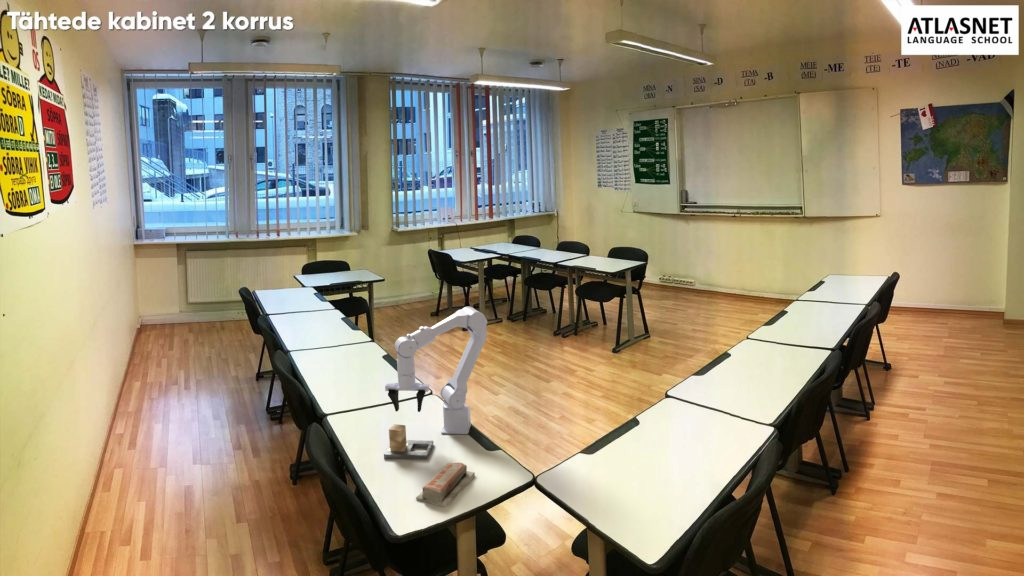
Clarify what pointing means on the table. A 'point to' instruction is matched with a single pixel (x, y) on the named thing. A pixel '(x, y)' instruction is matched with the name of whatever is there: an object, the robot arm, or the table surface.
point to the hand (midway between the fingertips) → (408, 410)
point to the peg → (397, 437)
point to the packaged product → (446, 484)
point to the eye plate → (410, 450)
